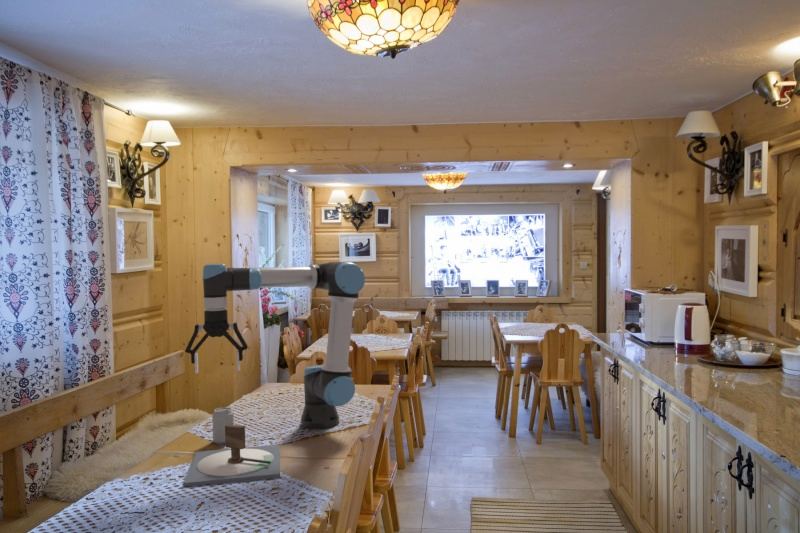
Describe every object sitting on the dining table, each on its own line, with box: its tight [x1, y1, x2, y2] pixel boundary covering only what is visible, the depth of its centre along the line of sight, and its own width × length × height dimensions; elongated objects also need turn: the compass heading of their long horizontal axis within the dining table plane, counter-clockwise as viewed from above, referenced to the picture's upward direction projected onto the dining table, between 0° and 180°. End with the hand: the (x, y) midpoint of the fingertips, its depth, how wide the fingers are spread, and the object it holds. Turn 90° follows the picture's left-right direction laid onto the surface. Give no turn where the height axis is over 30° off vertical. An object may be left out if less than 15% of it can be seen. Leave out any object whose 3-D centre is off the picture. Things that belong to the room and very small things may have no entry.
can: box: [211, 406, 235, 445], centre depth 220 cm, size 8×8×12 cm
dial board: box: [183, 444, 281, 488], centre depth 195 cm, size 28×28×2 cm
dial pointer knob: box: [224, 424, 271, 464], centre depth 193 cm, size 5×16×11 cm, turn 69°
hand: (217, 371), depth 204 cm, fingers open, 13 cm apart
